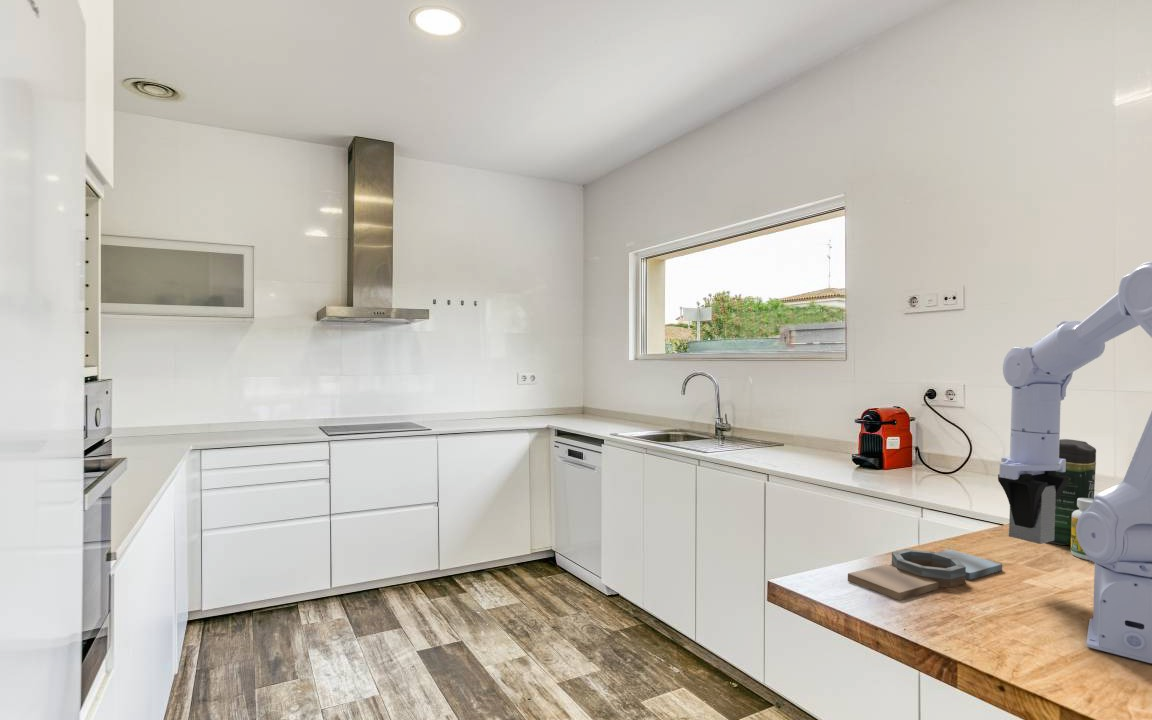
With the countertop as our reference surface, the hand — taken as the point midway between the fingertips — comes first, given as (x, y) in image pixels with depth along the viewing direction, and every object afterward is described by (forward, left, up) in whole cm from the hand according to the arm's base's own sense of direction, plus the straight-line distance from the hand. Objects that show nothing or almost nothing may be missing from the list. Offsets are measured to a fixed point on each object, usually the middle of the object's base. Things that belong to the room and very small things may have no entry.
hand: (1031, 524), depth 89 cm
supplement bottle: (+24, -6, -9) cm, 26 cm away
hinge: (-6, +12, -9) cm, 16 cm away
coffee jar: (+33, -2, -9) cm, 34 cm away
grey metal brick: (0, 0, -2) cm, 2 cm away
